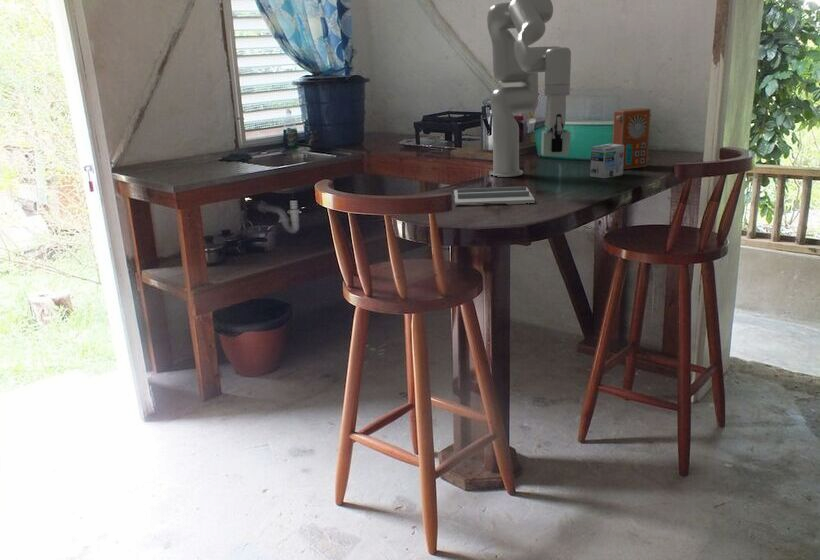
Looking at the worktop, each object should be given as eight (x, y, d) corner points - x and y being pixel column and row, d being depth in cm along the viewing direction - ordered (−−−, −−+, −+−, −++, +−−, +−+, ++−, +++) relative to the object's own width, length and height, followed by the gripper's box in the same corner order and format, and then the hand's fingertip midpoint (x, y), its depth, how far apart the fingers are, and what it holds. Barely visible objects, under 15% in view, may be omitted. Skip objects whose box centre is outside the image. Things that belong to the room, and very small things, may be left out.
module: (541, 153, 219) (541, 129, 217) (566, 152, 219) (567, 128, 216) (543, 155, 214) (544, 131, 212) (569, 155, 214) (570, 130, 211)
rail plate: (454, 193, 229) (453, 185, 229) (526, 190, 228) (527, 183, 227) (455, 206, 210) (454, 197, 210) (534, 203, 209) (534, 195, 208)
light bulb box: (604, 178, 242) (605, 147, 239) (589, 176, 248) (590, 146, 244) (623, 174, 248) (625, 144, 245) (608, 172, 254) (609, 143, 250)
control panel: (651, 166, 262) (618, 170, 257) (639, 164, 268) (607, 168, 263) (654, 108, 255) (621, 111, 250) (642, 107, 262) (609, 110, 256)
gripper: (540, 88, 218) (539, 146, 224) (548, 93, 202) (547, 155, 208) (564, 87, 218) (562, 145, 224) (574, 92, 202) (572, 154, 208)
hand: (555, 149), depth 216 cm, fingers closed on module, 5 cm apart
